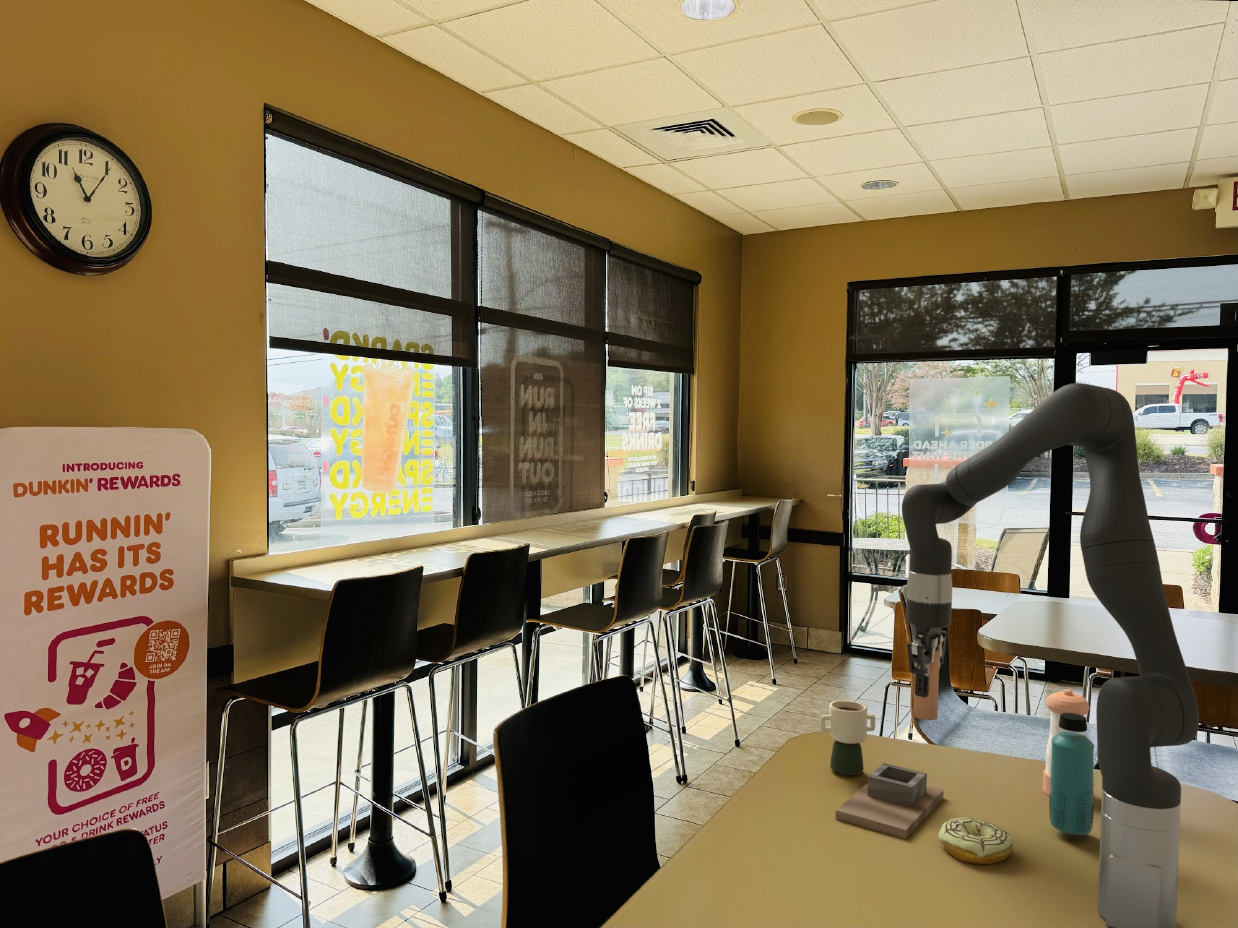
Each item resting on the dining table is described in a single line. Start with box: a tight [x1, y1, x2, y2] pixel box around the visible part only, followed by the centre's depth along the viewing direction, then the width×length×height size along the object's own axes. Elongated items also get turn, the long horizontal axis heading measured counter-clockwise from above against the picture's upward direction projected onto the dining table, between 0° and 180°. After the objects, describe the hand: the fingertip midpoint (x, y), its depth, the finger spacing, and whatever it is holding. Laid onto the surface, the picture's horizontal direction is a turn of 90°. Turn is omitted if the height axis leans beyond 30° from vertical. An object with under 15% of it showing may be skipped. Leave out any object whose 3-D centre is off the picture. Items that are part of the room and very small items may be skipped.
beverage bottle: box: [1048, 713, 1095, 836], centre depth 146 cm, size 6×7×20 cm
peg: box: [913, 649, 940, 721], centre depth 158 cm, size 4×4×12 cm
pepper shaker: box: [1042, 688, 1090, 796], centre depth 163 cm, size 7×7×19 cm
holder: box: [835, 762, 944, 840], centre depth 156 cm, size 20×12×5 cm, turn 143°
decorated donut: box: [938, 816, 1014, 865], centre depth 141 cm, size 10×11×4 cm
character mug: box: [819, 699, 876, 776], centre depth 172 cm, size 11×7×13 cm, turn 95°
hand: (926, 692), depth 158 cm, fingers closed on peg, 4 cm apart
